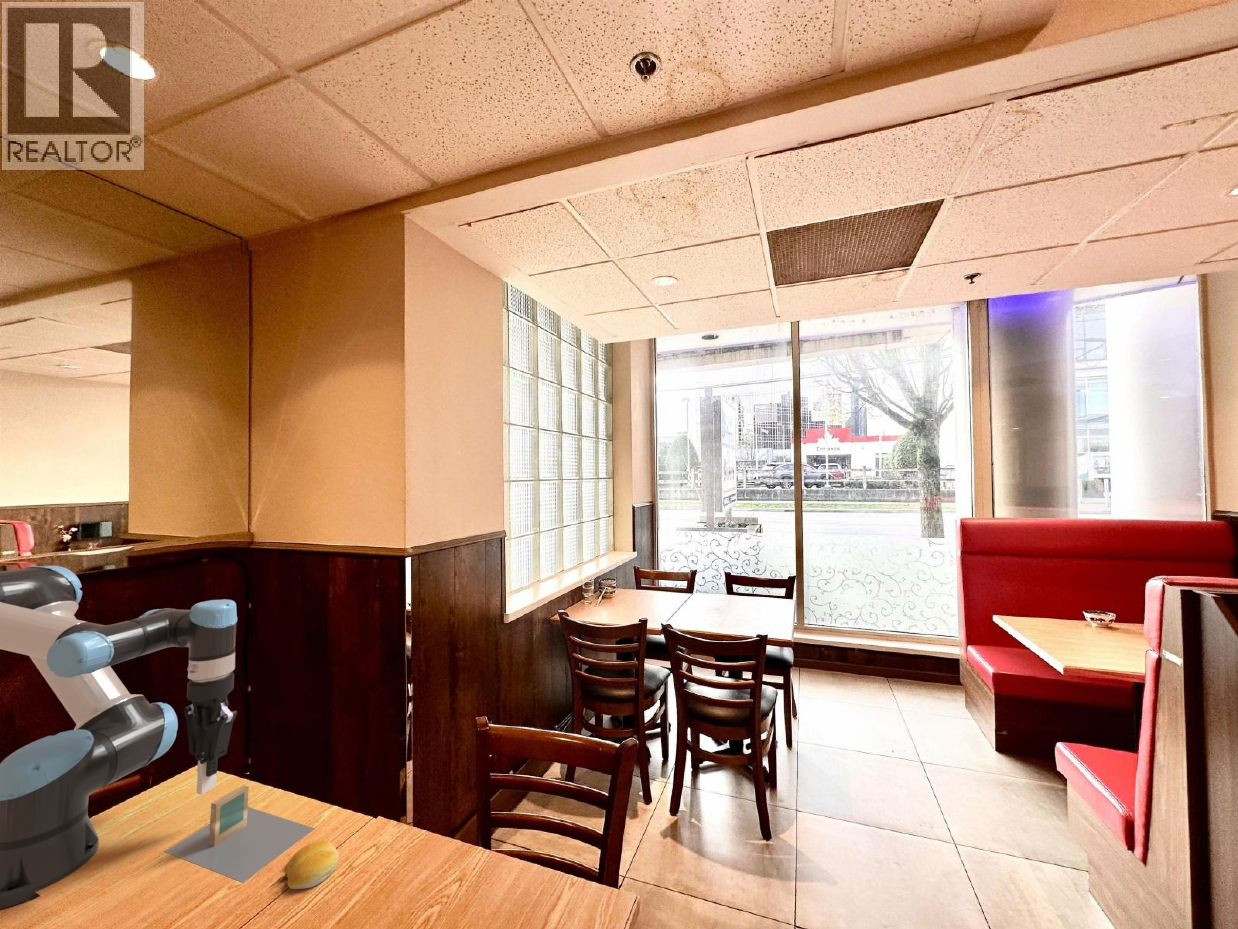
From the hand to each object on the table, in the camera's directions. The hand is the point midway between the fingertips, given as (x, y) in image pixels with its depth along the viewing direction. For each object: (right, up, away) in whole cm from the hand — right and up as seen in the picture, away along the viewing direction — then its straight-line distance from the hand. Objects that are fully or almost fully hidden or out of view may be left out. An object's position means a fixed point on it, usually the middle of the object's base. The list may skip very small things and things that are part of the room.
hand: (206, 789), depth 98 cm
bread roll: (+29, -9, -10) cm, 31 cm away
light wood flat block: (+7, -7, -3) cm, 10 cm away
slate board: (+11, -9, -4) cm, 14 cm away
